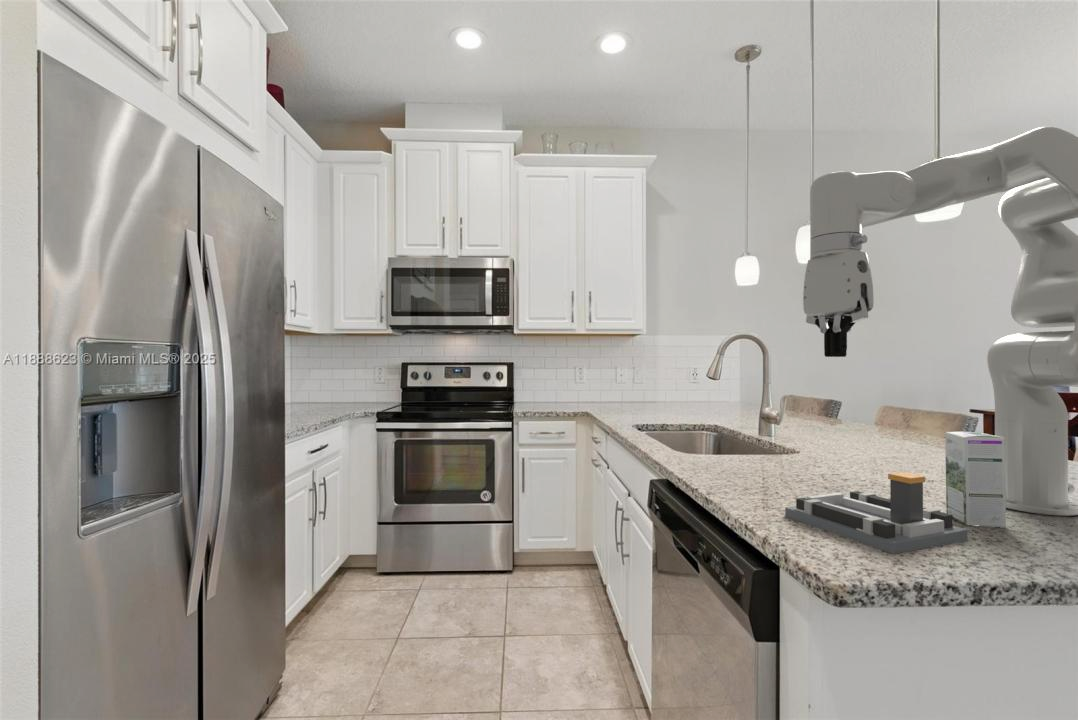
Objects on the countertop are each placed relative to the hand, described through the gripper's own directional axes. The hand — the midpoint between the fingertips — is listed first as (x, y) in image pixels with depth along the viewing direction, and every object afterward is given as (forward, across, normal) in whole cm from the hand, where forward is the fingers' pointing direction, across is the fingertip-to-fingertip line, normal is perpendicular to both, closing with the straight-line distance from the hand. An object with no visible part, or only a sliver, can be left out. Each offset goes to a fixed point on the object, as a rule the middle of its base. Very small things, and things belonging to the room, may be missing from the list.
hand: (835, 356), depth 85 cm
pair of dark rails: (+26, -6, 0) cm, 26 cm away
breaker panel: (+27, -6, 0) cm, 28 cm away
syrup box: (+27, -10, -19) cm, 35 cm away
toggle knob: (+25, -11, 0) cm, 28 cm away
